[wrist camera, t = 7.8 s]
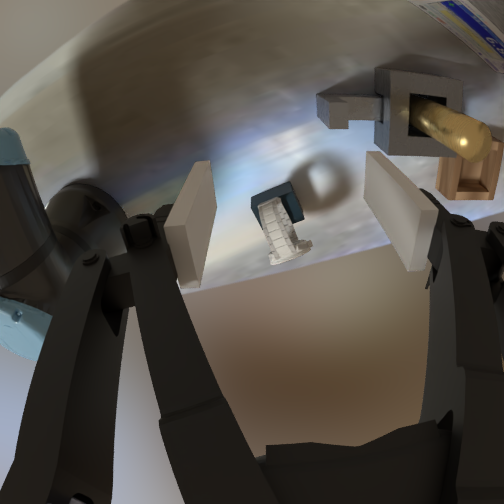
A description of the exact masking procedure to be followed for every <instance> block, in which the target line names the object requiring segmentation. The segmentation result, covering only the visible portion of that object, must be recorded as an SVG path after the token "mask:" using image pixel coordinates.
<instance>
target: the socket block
mask: <svg viewBox="0 0 504 504" xmlns="http://www.w3.org/2000/svg"><path fill="white" fill-rule="evenodd" d="M375 92H376V93H378V94H381V95H384V117H383V121H375V131H374V144H376V145H377V146H378V147H379V148H380V149H381V150H383V151H384V152H385V153H386V154H387V155H398V156H430V157H450V158H457V153H456V152H454V151H453V150H451V149H450V148H448V147H447V146H445V145H444V144H442V143H440V142H439V141H437V140H436V139H434V138H432V137H431V136H429V135H427V134H426V133H424V132H422V131H421V130H419V129H417V128H415V127H408V122H409V97H410V93H414V94H423V95H427V99H428V100H431V101H433V102H436V103H439V104H441V105H444V106H446V107H449V108H451V109H453V110H456V111H458V112H460V113H461V112H462V97H463V81H460V80H456V79H452V78H448V77H444V76H439V75H433V74H426V73H419V72H412V71H404V70H394V69H384V68H375Z"/></svg>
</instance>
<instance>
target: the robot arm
mask: <svg viewBox="0 0 504 504" xmlns="http://www.w3.org/2000/svg"><path fill="white" fill-rule="evenodd" d="M29 164H30V161H29V159H27V157H26V154H25V151H24V149H23V146H22V143H21V140H20V137H19V135H18V134H17V132H16V131H15V130H13V129H11V128H0V344H1V345H2V346H3V347H5V348H6V349H8V350H10V351H11V352H13V353H15V354H17V355H19V356H22V357H24V358H27V359H30V360H33V361H37V364H36V367H35V370H34V374H33V377H32V381H31V384H30V388H29V392H28V396H27V400H26V404H25V408H24V412H23V416H22V421H21V426H20V430H19V436H18V441H17V446H16V453H15V458H14V461H13V463H12V465H11V468H10V470H9V472H8V474H7V477H6V479H5V481H4V483H3V486H2V488H1V490H0V504H111V500H112V489H113V458H114V437H115V419H116V408H117V397H118V386H119V377H120V367H121V360H122V353H123V345H124V338H125V331H126V325H127V319H128V312H129V307H133V306H135V307H136V312H137V317H138V322H139V327H140V332H141V337H142V341H143V346H144V351H145V355H146V359H147V364H148V367H149V371H150V376H151V380H152V384H153V387H154V391H155V395H156V399H157V402H158V406H159V409H160V413H161V419H160V420H159V428H160V432H161V435H162V439H163V442H164V445H165V448H166V452H167V455H168V458H169V461H170V464H171V467H172V470H173V473H174V475H175V478H176V481H177V484H178V486H179V489H180V492H181V495H182V497H183V500H184V502H185V504H504V372H503V367H502V357H503V360H504V281H503V279H502V274H503V272H504V223H503V222H491V223H490V226H489V229H488V232H486V231H480V230H475V228H474V225H473V224H472V222H471V221H470V220H468V219H467V218H465V217H463V216H460V215H457V214H450V213H449V212H448V211H447V210H446V209H445V208H444V206H443V205H442V204H440V202H439V201H438V200H436V198H435V197H434V196H433V195H432V194H431V193H429V192H427V191H426V190H424V189H419V188H418V187H417V186H416V185H415V184H414V183H413V182H412V181H411V180H410V179H409V178H407V177H406V176H405V175H404V174H403V173H402V172H401V171H400V170H399V169H398V168H397V167H396V166H395V165H394V164H393V163H392V162H391V161H390V160H389V159H387V158H386V157H385V156H384V155H383V154H382V153H381V152H380V151H366V170H365V186H364V199H365V201H366V202H367V204H368V205H369V207H370V209H371V210H372V212H373V213H374V215H375V217H376V218H377V220H378V221H379V223H380V225H381V226H382V228H383V229H384V231H385V233H386V234H387V236H388V238H389V239H390V241H391V243H392V244H393V246H394V248H395V250H396V251H397V253H398V255H399V257H400V258H401V260H402V262H403V263H404V265H405V267H406V269H407V271H408V272H413V271H422V270H425V266H426V262H427V258H428V259H429V260H430V262H431V263H432V268H431V271H430V274H429V277H428V281H427V284H426V287H425V289H428V286H429V285H430V319H429V341H428V356H427V368H426V378H425V387H424V395H423V403H422V410H421V416H420V420H419V423H418V424H415V425H411V426H406V427H402V428H398V429H396V430H394V431H392V432H390V433H388V434H386V435H384V436H382V437H380V438H377V439H375V440H373V441H371V442H368V443H366V444H364V445H361V446H356V447H353V446H340V445H331V444H321V443H313V442H308V443H296V444H281V445H266V455H263V456H259V457H256V458H255V457H254V455H253V453H252V452H251V450H250V448H249V446H248V444H247V442H246V440H245V438H244V435H243V433H242V431H241V429H240V427H239V425H238V423H237V421H236V419H235V417H234V415H233V413H232V410H231V408H230V407H229V404H228V402H227V401H226V399H225V398H224V396H223V394H222V392H221V390H220V388H219V386H218V384H217V381H216V379H215V376H214V374H213V372H212V369H211V367H210V365H209V363H208V360H207V358H206V356H205V353H204V351H203V348H202V346H201V343H200V341H199V339H198V336H197V334H196V331H195V329H194V326H193V324H192V321H191V319H190V316H189V314H188V311H187V308H186V306H185V303H184V300H183V298H182V295H181V293H180V290H179V287H178V284H177V282H176V281H177V278H178V281H179V284H180V288H200V285H201V280H202V275H203V270H204V265H205V260H206V256H207V251H208V246H209V241H210V237H211V232H212V228H213V223H214V219H215V214H216V210H217V203H216V197H215V191H214V184H213V178H212V171H211V165H210V160H207V161H198V162H195V163H194V165H193V167H192V169H191V171H190V173H189V175H188V177H187V179H186V181H185V183H184V185H183V187H182V189H181V191H180V193H179V195H178V197H177V199H176V201H175V203H174V204H168V205H163V206H162V207H160V208H159V209H158V210H157V211H156V212H155V214H154V215H151V214H140V215H136V216H133V217H131V218H129V219H127V217H126V215H125V213H124V211H123V210H122V208H121V207H120V206H119V204H118V203H117V202H116V201H115V200H114V199H113V198H112V197H111V196H109V195H108V194H107V193H105V192H104V191H102V190H100V189H98V188H96V187H93V186H90V185H85V184H74V185H69V186H67V187H64V188H63V189H61V190H60V191H59V192H58V193H57V194H55V195H54V196H53V197H52V198H51V199H50V201H49V202H48V203H47V205H46V207H45V208H44V205H43V203H42V200H41V197H40V195H39V192H38V189H37V187H36V184H35V181H34V178H33V175H32V171H31V168H30V165H29ZM501 354H502V357H501Z"/></svg>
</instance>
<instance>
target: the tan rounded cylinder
mask: <svg viewBox="0 0 504 504" xmlns="http://www.w3.org/2000/svg"><path fill="white" fill-rule="evenodd" d="M408 124H410V125H412V126H414V127H415V128H417V129H419V130H421V131H422V132H424V133H426V134H427V135H429V136H431V137H432V138H434V139H436V140H437V141H439V142H440V143H442V144H444V145H445V146H447V147H448V148H450V149H451V150H453V151H454V152H456V153H457V154H459V155H460V156H462V157H463V158H465V159H466V160H468V161H469V162H472V163H477V162H480V161H482V160H483V159H485V158H486V156H487V155H488V154H489V152H490V149H491V145H492V136H491V132H490V130H489V128H488V127H487V125H485V124H484V123H482V122H480V121H478V120H476V119H474V118H472V117H469V116H467V115H465V114H463V113H460V112H458V111H456V110H453V109H451V108H449V107H446V106H444V105H441V104H439V103H436V102H433V101H431V100H428V99H426V98H423V97H420V96H417V95H414V94H411V93H410V97H409V122H408Z"/></svg>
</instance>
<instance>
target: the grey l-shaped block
mask: <svg viewBox="0 0 504 504" xmlns="http://www.w3.org/2000/svg"><path fill="white" fill-rule="evenodd" d="M316 99H317V117H318V118H319V119H320V120H321V121H322V122H323V123H324V124H325V125H326V126H327V127H328V128H329V129H348V120H375V121H383V117H384V96H379V95H356V94H316Z"/></svg>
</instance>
